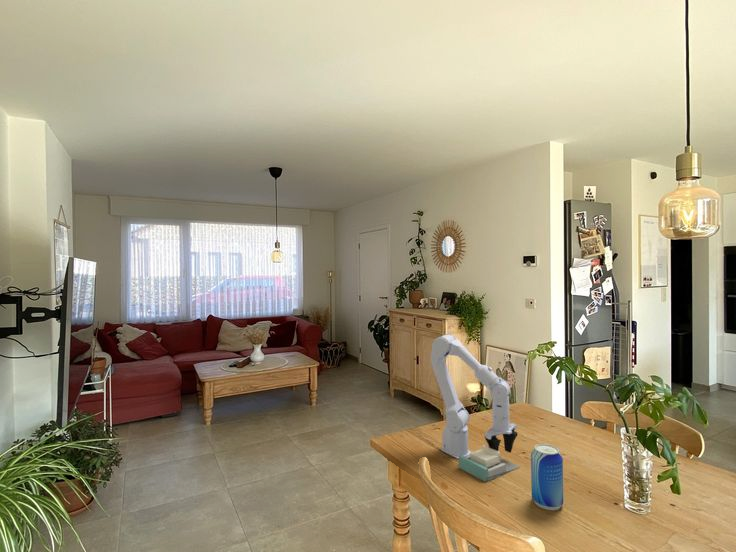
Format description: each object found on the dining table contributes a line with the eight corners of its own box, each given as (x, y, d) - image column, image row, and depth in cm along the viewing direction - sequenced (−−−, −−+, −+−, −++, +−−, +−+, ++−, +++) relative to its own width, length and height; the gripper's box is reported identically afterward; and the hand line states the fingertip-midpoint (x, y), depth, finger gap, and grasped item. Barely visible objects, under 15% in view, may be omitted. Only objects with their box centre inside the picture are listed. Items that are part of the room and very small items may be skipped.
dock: (458, 469, 138) (458, 455, 138) (492, 455, 148) (492, 443, 148) (486, 484, 128) (486, 469, 128) (520, 468, 138) (520, 455, 138)
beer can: (545, 514, 111) (544, 456, 111) (525, 498, 119) (524, 444, 119) (570, 509, 113) (569, 452, 113) (549, 493, 121) (548, 441, 121)
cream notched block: (470, 463, 138) (470, 449, 138) (484, 458, 142) (484, 444, 142) (486, 472, 132) (486, 457, 132) (500, 466, 136) (500, 452, 136)
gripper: (496, 423, 134) (497, 464, 134) (523, 414, 142) (524, 453, 142) (480, 417, 140) (480, 456, 140) (506, 409, 148) (507, 446, 148)
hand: (501, 454), depth 142 cm, fingers open, 7 cm apart
